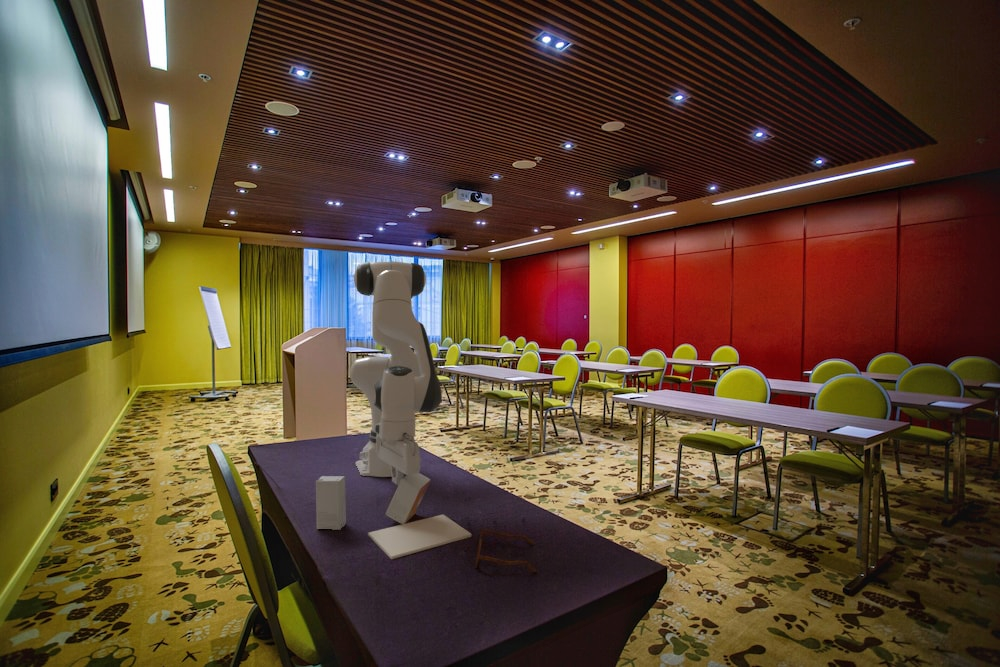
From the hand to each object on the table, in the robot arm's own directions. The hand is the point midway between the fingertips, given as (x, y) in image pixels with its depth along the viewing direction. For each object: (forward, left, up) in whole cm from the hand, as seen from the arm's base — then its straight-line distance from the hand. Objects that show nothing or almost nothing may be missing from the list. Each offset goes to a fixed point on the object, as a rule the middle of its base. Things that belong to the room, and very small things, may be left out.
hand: (397, 483), depth 123 cm
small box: (+1, 0, -8) cm, 8 cm away
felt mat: (+13, 0, -9) cm, 16 cm away
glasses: (+33, +11, -10) cm, 36 cm away
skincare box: (-3, -16, -9) cm, 19 cm away
